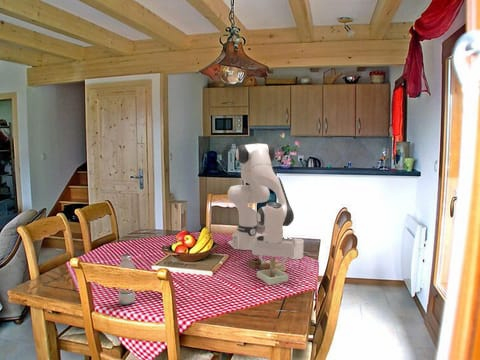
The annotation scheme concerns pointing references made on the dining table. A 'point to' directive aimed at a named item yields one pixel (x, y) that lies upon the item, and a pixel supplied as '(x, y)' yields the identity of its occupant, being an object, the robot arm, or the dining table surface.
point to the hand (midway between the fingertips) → (272, 264)
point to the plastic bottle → (126, 295)
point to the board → (277, 265)
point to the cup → (298, 249)
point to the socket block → (254, 263)
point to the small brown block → (264, 267)
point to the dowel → (272, 267)
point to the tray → (278, 278)
